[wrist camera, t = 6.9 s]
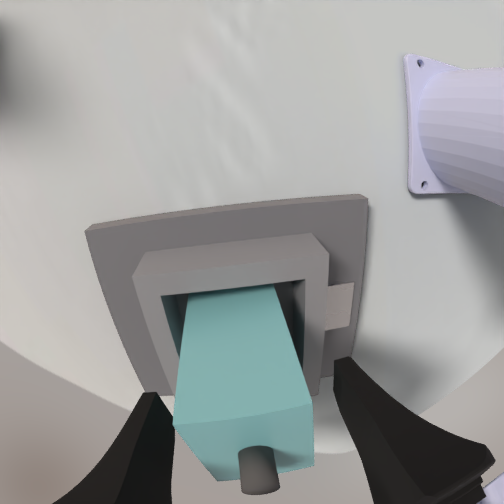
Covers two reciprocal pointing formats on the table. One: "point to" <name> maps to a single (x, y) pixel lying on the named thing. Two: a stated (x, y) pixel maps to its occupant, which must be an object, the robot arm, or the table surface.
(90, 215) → the table surface
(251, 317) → the plug
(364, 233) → the socket block
